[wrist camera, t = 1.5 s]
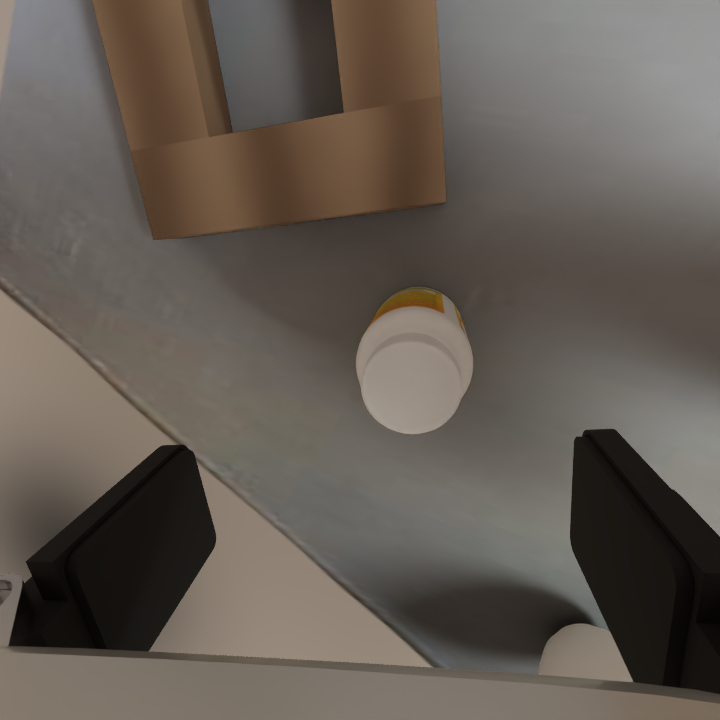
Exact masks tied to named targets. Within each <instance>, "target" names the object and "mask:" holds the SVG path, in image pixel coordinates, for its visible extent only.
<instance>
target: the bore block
mask: <svg viewBox="0 0 720 720" xmlns="http://www.w3.org/2000/svg"><path fill="white" fill-rule="evenodd" d="M92 2H93V6H94V10H95V14H96V18H97V22H98V26H99V30H100V34H101V38H102V41H103V45H104V49H105V53H106V57H107V61H108V65H109V69H110V73H111V77H112V80H113V84H114V88H115V92H116V96H117V100H118V104H119V108H120V112H121V116H122V119H123V123H124V127H125V131H126V135H127V139H128V143H129V147H130V151H131V154H132V158H133V162H134V166H135V170H136V174H137V178H138V182H139V186H140V190H141V193H142V197H143V201H144V205H145V209H146V213H147V217H148V221H149V225H150V229H151V232H152V236H153V240H161V239H177V238H188V237H196V236H204V235H211V234H219V233H227V232H234V231H242V230H250V229H257V228H265V227H273V226H280V225H288V224H296V223H303V222H311V221H319V220H326V219H334V218H342V217H349V216H357V215H365V214H372V213H380V212H388V211H395V210H403V209H411V208H418V207H426V206H434V205H441V204H445V203H446V184H445V164H444V145H443V125H442V105H441V85H440V66H439V46H438V26H437V7H436V0H331V3H332V12H333V21H334V30H335V39H336V47H337V56H338V65H339V74H340V83H341V91H342V100H343V109H344V113H341V114H335V115H329V116H324V117H318V118H313V119H307V120H302V121H296V122H290V123H285V124H279V125H274V126H268V127H263V128H257V129H251V130H246V131H240V132H235V133H232V127H231V122H230V117H229V111H228V106H227V100H226V95H225V90H224V84H223V79H222V74H221V68H220V63H219V58H218V52H217V47H216V42H215V36H214V31H213V26H212V20H211V15H210V10H209V4H208V0H92Z"/></svg>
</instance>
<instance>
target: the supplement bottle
mask: <svg viewBox="0 0 720 720" xmlns="http://www.w3.org/2000/svg"><path fill="white" fill-rule="evenodd" d="M356 371H357V376H358V380H359V383H360V385H361V393H362V397H363V401H364V403H365V406H366V408H367V409H368V411H369V412H370V414H371V415H372V416H373V417H374V418H375V419H376V420H377V421H378V422H379V423H380V424H382V425H383V426H385V427H387V428H389V429H391V430H393V431H396V432H399V433H405V434H421V433H426V432H429V431H432V430H435V429H437V428H439V427H440V426H442V425H443V424H445V423H446V422H447V421H448V420H449V419H450V418H451V417H452V415H453V414H454V413H455V411H456V409H457V408H458V406H459V403H460V400H461V398H462V397H463V396H464V394H465V392H466V391H467V389H468V386H469V384H470V381H471V378H472V373H473V355H472V349H471V345H470V342H469V340H468V337H467V334H466V330H465V327H464V324H463V321H462V318H461V315H460V313H459V311H458V309H457V308H456V306H455V305H454V303H453V302H452V301H451V300H450V299H449V298H448V297H446V296H445V295H444V294H442V293H440V292H438V291H436V290H434V289H430V288H426V287H410V288H406V289H403V290H400V291H398V292H396V293H394V294H393V295H391V296H390V297H389V298H388V299H387V300H386V301H385V302H384V303H383V304H382V305H381V306H380V308H379V309H378V311H377V312H376V314H375V316H374V318H373V319H372V321H371V323H370V325H369V326H368V328H367V330H366V331H365V333H364V335H363V337H362V339H361V341H360V344H359V347H358V351H357V356H356Z"/></svg>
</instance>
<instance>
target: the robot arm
mask: <svg viewBox="0 0 720 720" xmlns="http://www.w3.org/2000/svg"><path fill="white" fill-rule="evenodd" d="M570 540H571V546H572V550H573V552H574V555H575V557H576V559H577V561H578V563H579V566H580V568H581V570H582V572H583V574H584V576H585V579H586V581H587V583H588V585H589V587H590V589H591V591H592V594H593V596H594V598H595V600H596V602H597V604H598V607H599V609H600V611H601V613H602V615H603V617H604V620H605V622H606V624H607V626H608V628H609V630H610V632H611V635H612V637H613V639H614V641H615V643H616V645H617V648H618V650H619V652H620V654H621V656H622V658H623V661H624V663H625V665H626V667H627V669H628V671H629V674H630V676H631V678H632V680H633V682H624V681H611V680H599V679H587V678H574V677H562V676H549V675H537V674H525V673H509V672H493V671H478V670H462V669H446V668H430V667H414V666H398V665H382V664H381V665H380V664H365V663H349V662H331V661H314V660H297V659H280V658H262V657H261V658H260V657H244V656H243V657H242V656H226V655H206V654H188V653H187V654H186V653H167V652H148V651H149V650H150V648H151V647H152V645H153V644H154V642H155V640H156V639H157V637H158V636H159V634H160V632H161V631H162V629H163V628H164V626H165V625H166V623H167V622H168V620H169V618H170V617H171V615H172V614H173V612H174V611H175V609H176V607H177V606H178V604H179V603H180V601H181V599H182V598H183V596H184V595H185V593H186V592H187V590H188V588H189V587H190V585H191V584H192V582H193V581H194V579H195V577H196V576H197V574H198V572H199V571H200V569H201V568H202V566H203V565H204V563H205V562H206V560H207V558H208V557H209V555H210V554H211V552H212V550H213V549H214V546H215V543H216V533H215V529H214V525H213V522H212V518H211V514H210V510H209V507H208V503H207V499H206V496H205V492H204V488H203V485H202V481H201V477H200V473H199V470H198V466H197V462H196V459H195V455H194V453H193V452H192V451H191V450H189V449H188V448H187V447H186V446H185V445H164V446H161V447H159V448H158V449H157V450H155V451H154V452H153V453H152V454H151V455H150V456H148V457H147V458H146V459H145V460H144V461H142V462H141V463H140V464H139V465H138V466H137V467H135V468H134V469H133V470H132V471H131V472H130V473H128V474H127V475H126V476H125V477H124V478H123V479H121V480H120V481H119V482H118V483H117V484H116V485H114V486H113V487H112V488H111V489H110V490H109V491H107V492H106V493H105V494H104V495H103V496H102V497H100V498H99V499H98V500H97V501H96V502H95V503H94V504H93V505H91V506H90V507H89V508H88V509H87V510H86V511H84V512H83V513H82V514H81V515H79V516H78V517H77V518H76V519H75V520H74V521H73V522H71V523H70V524H69V525H68V526H67V527H66V528H65V529H63V530H62V531H61V532H60V533H59V534H57V535H56V536H55V537H54V538H53V539H52V540H50V541H49V542H48V543H47V544H46V545H45V546H44V547H42V548H41V549H40V550H39V551H38V552H37V553H35V554H34V555H33V556H32V557H31V558H29V559H28V560H27V561H26V563H27V565H28V568H29V570H30V572H31V574H32V577H31V578H30V579H29V580H28V581H27V582H26V583H24V582H23V580H22V578H21V577H20V576H19V575H17V574H10V573H8V574H2V575H0V720H720V537H719V535H718V534H717V533H716V532H715V531H714V530H713V529H712V528H711V527H710V526H709V525H708V524H707V523H706V522H705V521H704V520H703V519H702V518H701V517H700V516H699V514H698V513H697V512H696V511H695V510H694V509H693V508H692V507H691V506H690V505H689V504H688V503H687V502H686V501H685V500H684V499H683V498H682V497H681V496H680V495H679V494H678V493H677V492H676V491H674V490H672V489H671V488H670V487H669V486H668V485H667V484H666V483H665V482H664V481H663V480H662V479H661V478H660V477H659V476H658V475H657V473H656V472H655V471H654V470H653V469H652V468H651V467H650V466H649V465H648V464H647V463H646V462H645V461H644V460H643V459H642V457H641V456H640V455H639V454H638V453H637V452H636V451H635V450H634V449H633V448H632V447H631V446H630V445H629V444H628V443H627V442H626V440H625V439H624V438H623V437H622V436H621V435H620V434H619V433H618V432H617V431H616V430H614V429H597V430H585V431H584V432H583V435H582V437H576V438H575V440H574V456H573V479H572V502H571V524H570Z"/></svg>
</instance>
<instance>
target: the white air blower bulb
mask: <svg viewBox="0 0 720 720" xmlns="http://www.w3.org/2000/svg"><path fill="white" fill-rule="evenodd" d="M539 675H549V676H562V677H574V678H587V679H599V680H611V681H624V682H633V680H632V678H631V676H630V674H629V671H628V669H627V667H626V665H625V663H624V661H623V658H622V656H621V654H620V652H619V650H618V648H617V645H616V643H615V641H614V639H613V637H612V635H611V632H610V631H607V630H605V629H603V628H599V627H595V626H593V625H589V624H582V623H580V624H572V625H568V626H566V627H563V628H562V629H560V630H559V631H558V632H557V633H556V634H554V635H553V636H552V637H551V638H550V639H549V640H548V641H547V643H546V645H545V648H544V651H543V653H542V657H541V661H540V666H539Z"/></svg>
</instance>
